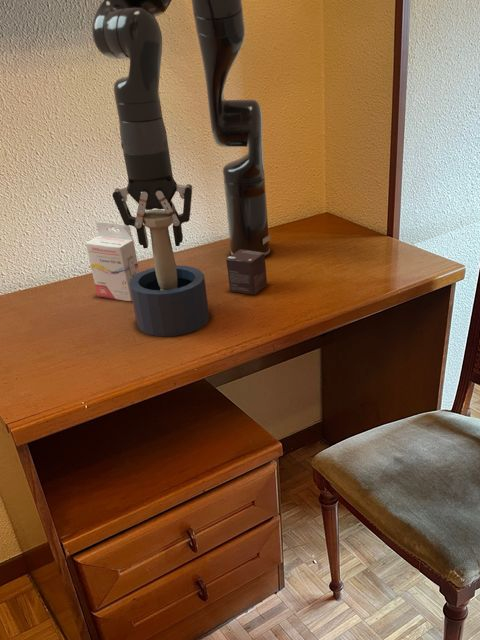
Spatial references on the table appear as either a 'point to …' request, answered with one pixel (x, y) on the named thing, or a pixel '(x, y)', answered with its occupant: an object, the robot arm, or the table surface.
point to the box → (246, 271)
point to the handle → (162, 248)
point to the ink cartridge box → (113, 261)
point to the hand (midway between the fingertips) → (161, 245)
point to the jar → (170, 302)
